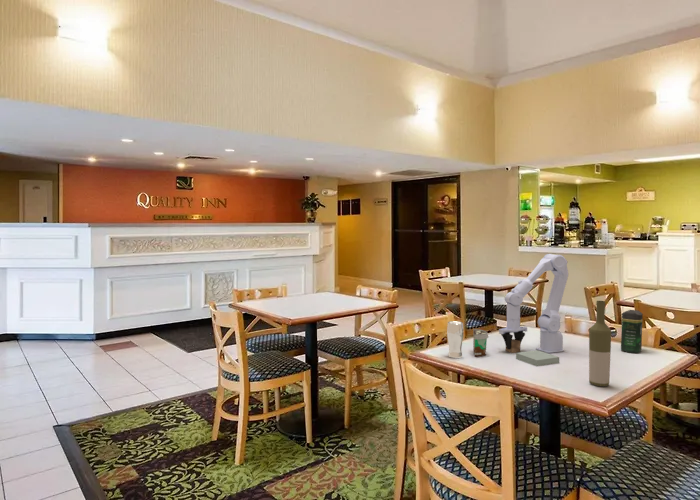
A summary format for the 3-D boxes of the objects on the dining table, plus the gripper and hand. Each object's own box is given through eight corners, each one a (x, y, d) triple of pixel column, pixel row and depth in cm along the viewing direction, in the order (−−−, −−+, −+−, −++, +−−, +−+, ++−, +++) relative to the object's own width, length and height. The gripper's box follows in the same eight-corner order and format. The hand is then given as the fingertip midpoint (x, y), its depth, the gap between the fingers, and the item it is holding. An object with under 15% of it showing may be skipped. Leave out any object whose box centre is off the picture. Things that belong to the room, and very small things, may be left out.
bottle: (589, 386, 167) (590, 302, 166) (587, 380, 174) (588, 299, 172) (611, 388, 165) (613, 303, 163) (608, 382, 171) (610, 300, 170)
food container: (489, 358, 204) (489, 335, 204) (474, 357, 205) (474, 334, 205) (487, 350, 216) (487, 329, 216) (473, 350, 217) (473, 328, 217)
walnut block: (513, 349, 218) (513, 339, 218) (520, 352, 214) (520, 341, 213) (505, 350, 216) (505, 339, 216) (512, 353, 212) (512, 342, 212)
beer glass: (466, 356, 207) (466, 322, 206) (458, 359, 202) (458, 324, 201) (452, 353, 212) (452, 320, 211) (443, 356, 207) (444, 322, 206)
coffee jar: (639, 354, 209) (640, 312, 208) (619, 351, 214) (620, 310, 213) (643, 350, 216) (644, 309, 215) (623, 347, 221) (624, 308, 220)
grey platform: (537, 356, 207) (537, 350, 207) (559, 364, 196) (559, 357, 196) (516, 359, 203) (516, 352, 203) (536, 367, 192) (536, 360, 192)
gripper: (519, 315, 221) (519, 344, 221) (494, 318, 215) (494, 347, 216) (530, 318, 214) (530, 348, 215) (504, 321, 209) (504, 351, 209)
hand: (513, 348), depth 215 cm, fingers closed on walnut block, 4 cm apart
